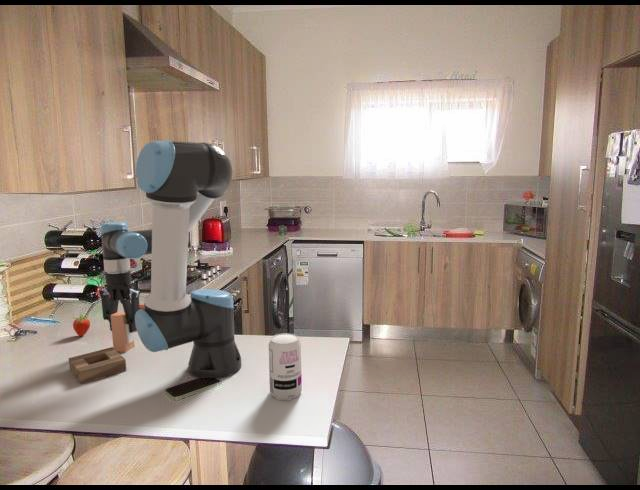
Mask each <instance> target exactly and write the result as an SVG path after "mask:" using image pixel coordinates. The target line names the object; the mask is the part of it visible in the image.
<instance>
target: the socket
mask: <svg viewBox="0 0 640 490" xmlns="http://www.w3.org/2000/svg"><path fill="white" fill-rule="evenodd" d="M68 366H69V370H70V371H71V373H72V375H73V376H74V377H75V378H76V380H77V381H78V382H79V384H80V385H83V384H86V383H88V382H92V381H95V380H98V379H102V378H105V377H109V376H113V375H116V374H119V373H122V372H123V373H124V372H126V371H127V362H126V358H125V357H123V356H122V355H121V353H119V351H116V350H115V349H114V348H113V346H112V347H111V346H110V347H107V348H104V349H99V350H95V351H92V352H88V353H84V354H80V355H75V356H73V357H69V358H68Z"/></svg>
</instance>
